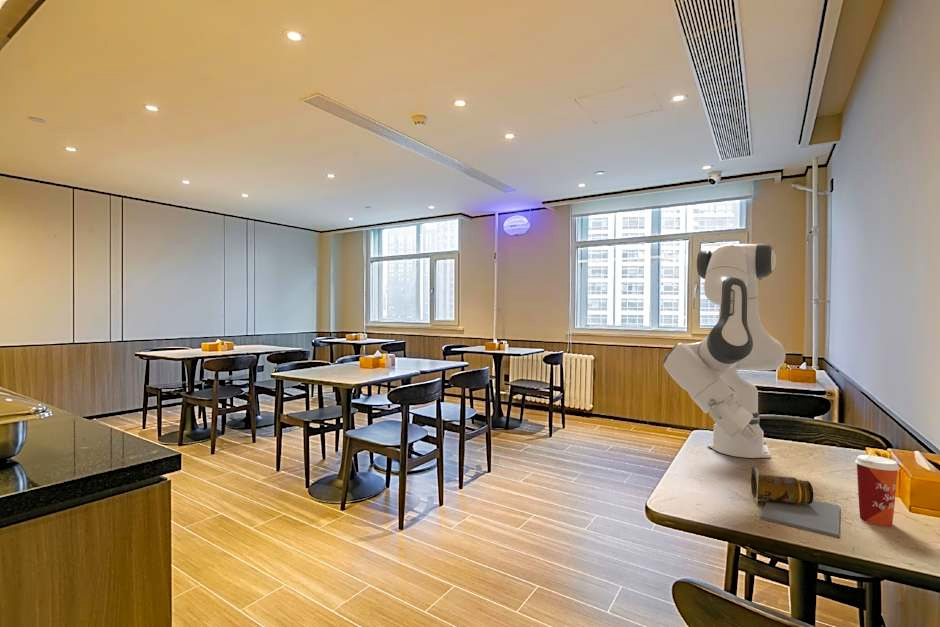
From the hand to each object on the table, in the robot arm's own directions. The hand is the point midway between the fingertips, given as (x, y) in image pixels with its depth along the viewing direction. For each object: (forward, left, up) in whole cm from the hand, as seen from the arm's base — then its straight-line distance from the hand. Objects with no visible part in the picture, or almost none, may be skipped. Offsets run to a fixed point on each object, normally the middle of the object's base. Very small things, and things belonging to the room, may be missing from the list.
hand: (758, 442), depth 117 cm
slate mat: (0, +9, -15) cm, 17 cm away
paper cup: (-6, +22, -15) cm, 28 cm away
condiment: (-1, -1, -10) cm, 10 cm away
